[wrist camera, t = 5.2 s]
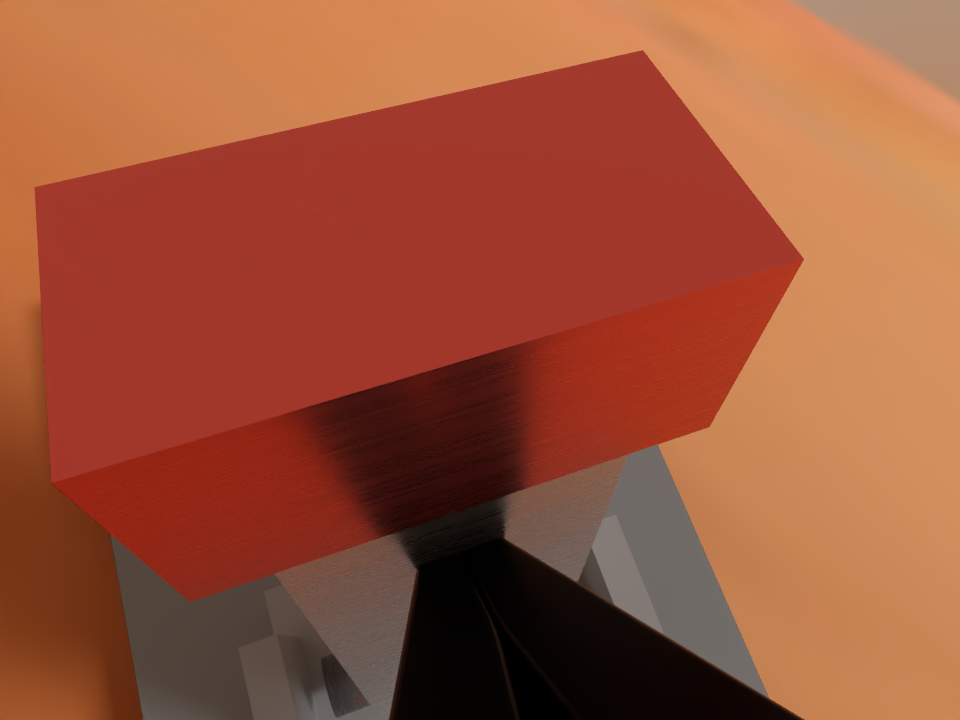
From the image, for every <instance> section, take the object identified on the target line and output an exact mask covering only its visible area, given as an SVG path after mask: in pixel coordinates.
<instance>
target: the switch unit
mask: <svg viewBox="0 0 960 720" xmlns="http://www.w3.org/2000/svg"><path fill="white" fill-rule="evenodd" d="M110 536H111V541H112V547H113V553H114V558H115V564H116V569H117V575H118V581H119V586H120V592H121V598H122V603H123V609H124V614H125V620H126V626H127V631H128V637H129V643H130V648H131V654H132V659H133V665H134V671H135V676H136V682H137V687H138V693H139V699H140V704H141V710H142V716H143V720H389V716H390V711H388V712H386V713H383V714H381V715H377V713H376V712H375V710H374V709H373V708H372V706H371V705H370V706H367V707H365V708H362V709H359V710H357V711H354V712H351V713H349V714H346V715H344V716H341V717H338V718H336V716H335V714H334V712H333V709H332V706H331V703H330V700H329V697H328V693H327V690H326V686H325V682H324V677H323V672H322V666H321V658H322V657H325V656H327V655H330V654H333V653H332V652H331V650H330V649H329V648H328V646H327V645H326V644H325V642H324V641H323V639H322V638H321V637H320V635H319V634H318V633H317V631H316V630H315V628H314V627H313V626H312V624H311V623H310V622H309V620H308V619H307V618H306V616H305V615H304V613H303V612H302V611H301V609H300V608H299V607H298V605H297V604H296V603H295V601H294V600H293V598H292V597H291V596H290V594H289V593H288V592H287V590H286V589H285V588H284V586H283V585H282V583H281V582H280V581H279V579H278V578H277V577H276V575H275V574H272V575H269V576H266V577H263V578H260V579H257V580H254V581H251V582H248V583H245V584H242V585H239V586H236V587H234V588H231V589H228V590H225V591H222V592H219V593H216V594H213V595H210V596H207V597H204V598H201V599H198V600H195V601H192V602H189V601H188V600H187V599H186V598H184V597H183V596H182V595H181V594H180V593H179V592H178V591H176V590H175V589H174V588H173V587H172V586H171V585H169V584H168V583H167V582H166V581H165V580H164V579H162V578H161V577H160V576H159V575H158V574H157V573H155V572H154V571H153V570H152V569H151V568H150V567H148V566H147V565H146V564H145V563H144V562H143V561H141V560H140V559H139V558H138V557H137V556H136V555H134V554H133V553H132V552H131V551H130V550H129V549H127V548H126V547H125V546H124V545H123V544H122V543H120V542H119V541H118V540H117V539H116V538H115V537H113V536H112V535H111V534H110ZM578 583H579V584H581V585H583V586H584V587H586V588H587V589H589V590H591V591H592V592H594V593H596V594H597V595H599V596H601V597H602V598H604V599H606V600H607V601H609V602H611V603H612V604H614V605H616V606H617V607H619V608H621V609H622V610H624V611H626V612H627V613H629V614H630V615H632V616H634V617H635V618H637V619H639V620H640V621H642V622H644V623H645V624H647V625H649V626H650V627H652V628H654V629H655V630H657V631H659V632H660V633H662V634H664V635H665V636H667V637H669V638H670V639H672V640H673V641H675V642H677V643H678V644H680V645H682V646H683V647H685V648H687V649H688V650H690V651H692V652H693V653H695V654H697V655H698V656H700V657H702V658H703V659H705V660H707V661H708V662H710V663H712V664H713V665H715V666H716V667H718V668H720V669H721V670H723V671H725V672H726V673H728V674H730V675H731V676H733V677H735V678H736V679H738V680H740V681H741V682H743V683H745V684H746V685H748V686H750V687H751V688H753V689H754V690H756V691H758V692H759V693H761V694H763V695H764V696H766V697H768V695H767V692H766V690H765V688H764V686H763V683H762V681H761V679H760V676H759V674H758V672H757V670H756V667H755V665H754V663H753V661H752V658H751V656H750V654H749V651H748V649H747V647H746V645H745V642H744V640H743V638H742V636H741V633H740V631H739V629H738V626H737V624H736V622H735V620H734V617H733V615H732V613H731V611H730V608H729V606H728V604H727V601H726V599H725V597H724V595H723V592H722V590H721V588H720V586H719V583H718V581H717V579H716V576H715V574H714V572H713V570H712V567H711V565H710V563H709V561H708V558H707V556H706V554H705V551H704V549H703V547H702V545H701V542H700V540H699V538H698V536H697V533H696V531H695V529H694V526H693V524H692V522H691V520H690V517H689V515H688V513H687V511H686V508H685V506H684V504H683V501H682V499H681V497H680V495H679V492H678V490H677V488H676V486H675V483H674V481H673V479H672V476H671V474H670V472H669V470H668V467H667V465H666V463H665V461H664V458H663V456H662V454H661V451H660V449H659V447H658V445H654V446H651V447H649V448H646V449H643V450H640V451H637V452H634V453H631V454H628V457H627V459H626V462H625V464H624V467H623V469H622V472H621V474H620V477H619V479H618V482H617V484H616V487H615V489H614V492H613V494H612V497H611V500H610V502H609V505H608V507H607V510H606V512H605V515H604V517H603V520H602V522H601V525H600V527H599V530H598V532H597V535H596V537H595V540H594V542H593V545H592V547H591V550H590V552H589V555H588V557H587V560H586V563H585V565H584V568H583V570H582V573H581V575H580V578H579V580H578ZM768 698H769V697H768Z"/></svg>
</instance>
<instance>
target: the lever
mask: <svg viewBox="0 0 960 720" xmlns="http://www.w3.org/2000/svg"><path fill="white" fill-rule="evenodd" d="M35 202H36V220H37V238H38V256H39V273H40V291H41V309H42V327H43V345H44V362H45V380H46V398H47V416H48V434H49V452H50V469H51V483H52V484H53V485H54V486H55V487H56V488H58V489H59V490H60V491H61V492H62V493H63V494H65V495H66V496H67V497H68V498H69V499H70V500H72V501H73V502H74V503H75V504H76V505H77V506H79V507H80V508H81V509H82V510H83V511H84V512H86V513H87V514H88V515H89V516H90V517H91V518H92V519H94V520H95V521H96V522H97V523H98V524H99V525H101V526H102V527H103V528H104V529H105V530H106V531H108V532H109V533H110V534H111V535H112V536H113V537H115V538H116V539H117V540H118V541H119V542H120V543H122V544H123V545H124V546H125V547H126V548H127V549H129V550H130V551H131V552H132V553H133V554H134V555H136V556H137V557H138V558H139V559H140V560H141V561H143V562H144V563H145V564H146V565H147V566H148V567H150V568H151V569H152V570H153V571H154V572H155V573H157V574H158V575H159V576H160V577H161V578H162V579H164V580H165V581H166V582H167V583H168V584H169V585H171V586H172V587H173V588H174V589H175V590H176V591H178V592H179V593H180V594H181V595H182V596H183V597H184V598H186V599H187V600H188V601H189V602H192V601H195V600H198V599H201V598H204V597H207V596H210V595H213V594H216V593H219V592H222V591H225V590H228V589H231V588H234V587H236V586H239V585H242V584H245V583H248V582H251V581H254V580H257V579H260V578H263V577H266V576H269V575H272V574H275V575H276V577H277V578H278V579H279V581H280V582H281V583H282V585H283V586H284V588H285V589H286V590H287V592H288V593H289V594H290V596H291V597H292V598H293V600H294V601H295V603H296V604H297V605H298V607H299V608H300V609H301V611H302V612H303V613H304V615H305V616H306V618H307V619H308V620H309V622H310V623H311V624H312V626H313V627H314V628H315V630H316V631H317V633H318V634H319V635H320V637H321V638H322V639H323V641H324V642H325V644H326V645H327V646H328V648H329V649H330V650H331V652H332V653H333V654H330V655H327V656H325V657H322V658H321V666H322V672H323V677H324V682H325V686H326V690H327V693H328V697H329V700H330V703H331V706H332V709H333V712H334V714H335V716H336V718H338V717H341V716H344V715H346V714H349V713H351V712H354V711H357V710H359V709H362V708H365V707H367V706H370V705H371V706H372V708H373V709H374V710H375V712H376V713H377V715H381V714H383V713H386V712H388V711H391V705H392V700H393V695H394V689H395V684H396V678H397V673H398V667H399V662H400V657H401V651H402V646H403V640H404V635H405V630H406V624H407V619H408V613H409V608H410V603H411V597H412V592H413V586H414V581H415V575H416V571H417V568H418V567H420V566H422V565H425V564H428V563H431V562H433V561H436V560H439V559H442V558H445V557H448V556H451V555H454V554H460V555H461V557H462V554H463V552H465V551H466V550H468V549H471V548H474V547H476V546H479V545H482V544H485V543H488V542H491V541H494V540H496V539H499V538H505V539H506V540H508V541H510V542H511V543H513V544H515V545H516V546H518V547H520V548H521V549H523V550H525V551H526V552H528V553H530V554H531V555H533V556H535V557H536V558H538V559H540V560H541V561H543V562H545V563H546V564H548V565H549V566H551V567H553V568H554V569H556V570H558V571H559V572H561V573H563V574H564V575H566V576H568V577H569V578H571V579H573V580H574V581H576V582H578V580H579V578H580V575H581V573H582V570H583V568H584V565H585V563H586V560H587V557H588V555H589V552H590V550H591V547H592V545H593V542H594V540H595V537H596V535H597V532H598V530H599V527H600V525H601V522H602V520H603V517H604V515H605V512H606V510H607V507H608V505H609V502H610V500H611V497H612V494H613V492H614V489H615V487H616V484H617V482H618V479H619V477H620V474H621V472H622V469H623V467H624V464H625V462H626V459H627V457H628V454H631V453H634V452H637V451H640V450H643V449H646V448H649V447H651V446H654V445H657V444H660V443H663V442H666V441H669V440H672V439H675V438H678V437H681V436H684V435H687V434H690V433H693V432H696V431H699V430H702V429H705V428H708V427H710V425H711V423H712V421H713V420H714V418H715V416H716V414H717V412H718V411H719V409H720V407H721V405H722V404H723V402H724V400H725V398H726V397H727V395H728V393H729V391H730V389H731V388H732V386H733V384H734V382H735V381H736V379H737V377H738V375H739V373H740V372H741V370H742V368H743V366H744V365H745V363H746V361H747V359H748V358H749V356H750V354H751V352H752V350H753V349H754V347H755V345H756V343H757V342H758V340H759V338H760V336H761V334H762V333H763V331H764V329H765V327H766V326H767V324H768V322H769V320H770V319H771V317H772V315H773V313H774V311H775V310H776V308H777V306H778V304H779V303H780V301H781V299H782V297H783V295H784V294H785V292H786V290H787V288H788V287H789V285H790V283H791V281H792V280H793V278H794V276H795V274H796V272H797V271H798V269H799V267H800V265H801V264H802V262H803V260H804V259H803V257H802V256H801V255H800V253H799V252H798V251H797V250H796V248H795V247H794V246H793V244H792V243H791V242H790V241H789V239H788V238H787V237H786V235H785V234H784V233H783V231H782V230H781V229H780V228H779V226H778V225H777V224H776V222H775V221H774V220H773V218H772V217H771V216H770V215H769V213H768V212H767V211H766V209H765V208H764V207H763V206H762V204H761V203H760V202H759V200H758V199H757V198H756V196H755V195H754V194H753V193H752V191H751V190H750V189H749V187H748V186H747V185H746V183H745V182H744V181H743V180H742V178H741V177H740V176H739V174H738V173H737V172H736V170H735V169H734V168H733V167H732V165H731V164H730V163H729V161H728V160H727V159H726V158H725V156H724V155H723V154H722V152H721V151H720V150H719V148H718V147H717V146H716V145H715V143H714V142H713V141H712V139H711V138H710V137H709V135H708V134H707V133H706V132H705V130H704V129H703V128H702V126H701V125H700V124H699V123H698V121H697V120H696V119H695V117H694V116H693V115H692V113H691V112H690V111H689V110H688V108H687V107H686V106H685V104H684V103H683V102H682V100H681V99H680V98H679V97H678V95H677V94H676V93H675V91H674V90H673V89H672V87H671V86H670V85H669V84H668V82H667V81H666V80H665V78H664V77H663V76H662V75H661V73H660V72H659V71H658V69H657V68H656V67H655V65H654V64H653V63H652V62H651V60H650V59H649V58H648V56H647V55H646V54H645V52H644V51H643V50H642V51H638V52H633V53H629V54H624V55H620V56H615V57H611V58H607V59H602V60H598V61H593V62H589V63H584V64H580V65H576V66H571V67H567V68H562V69H558V70H553V71H549V72H544V73H540V74H536V75H531V76H527V77H522V78H518V79H513V80H509V81H505V82H500V83H496V84H491V85H487V86H482V87H478V88H473V89H469V90H465V91H460V92H456V93H451V94H447V95H442V96H438V97H434V98H429V99H425V100H420V101H416V102H411V103H407V104H402V105H398V106H394V107H389V108H385V109H380V110H376V111H371V112H367V113H362V114H358V115H354V116H349V117H345V118H340V119H336V120H331V121H327V122H323V123H318V124H314V125H309V126H305V127H300V128H296V129H291V130H287V131H283V132H278V133H274V134H269V135H265V136H260V137H256V138H252V139H247V140H243V141H238V142H234V143H229V144H225V145H220V146H216V147H212V148H207V149H203V150H198V151H194V152H189V153H185V154H181V155H176V156H172V157H167V158H163V159H158V160H154V161H149V162H145V163H141V164H136V165H132V166H127V167H123V168H118V169H114V170H110V171H105V172H101V173H96V174H92V175H87V176H83V177H78V178H74V179H70V180H65V181H61V182H56V183H52V184H47V185H43V186H39V187H35Z"/></svg>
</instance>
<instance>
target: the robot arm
mask: <svg viewBox="0 0 960 720" xmlns="http://www.w3.org/2000/svg"><path fill="white" fill-rule="evenodd" d="M389 720H804V719H802V718H801V717H799V716H797V715H796V714H794V713H793V712H791V711H789V710H788V709H786V708H784V707H783V706H781V705H779V704H778V703H776V702H774V701H773V700H771V699H769V698H768V697H766V696H764V695H763V694H761V693H759V692H758V691H756V690H754V689H753V688H751V687H750V686H748V685H746V684H745V683H743V682H741V681H740V680H738V679H736V678H735V677H733V676H731V675H730V674H728V673H726V672H725V671H723V670H721V669H720V668H718V667H716V666H715V665H713V664H712V663H710V662H708V661H707V660H705V659H703V658H702V657H700V656H698V655H697V654H695V653H693V652H692V651H690V650H688V649H687V648H685V647H683V646H682V645H680V644H678V643H677V642H675V641H673V640H672V639H670V638H669V637H667V636H665V635H664V634H662V633H660V632H659V631H657V630H655V629H654V628H652V627H650V626H649V625H647V624H645V623H644V622H642V621H640V620H639V619H637V618H635V617H634V616H632V615H630V614H629V613H627V612H626V611H624V610H622V609H621V608H619V607H617V606H616V605H614V604H612V603H611V602H609V601H607V600H606V599H604V598H602V597H601V596H599V595H597V594H596V593H594V592H592V591H591V590H589V589H587V588H586V587H584V586H583V585H581V584H579V583H578V582H576V581H574V580H573V579H571V578H569V577H568V576H566V575H564V574H563V573H561V572H559V571H558V570H556V569H554V568H553V567H551V566H549V565H548V564H546V563H545V562H543V561H541V560H540V559H538V558H536V557H535V556H533V555H531V554H530V553H528V552H526V551H525V550H523V549H521V548H520V547H518V546H516V545H515V544H513V543H511V542H510V541H508V540H506V539H505V538H499V539H496V540H494V541H491V542H488V543H485V544H482V545H479V546H476V547H474V548H471V549H468V550H466V551H465V552H463V554H462V557H461V555H460V554H454V555H451V556H448V557H445V558H442V559H439V560H436V561H433V562H431V563H428V564H425V565H422V566H420V567H418V568H417V571H416V575H415V581H414V586H413V592H412V597H411V603H410V608H409V613H408V619H407V624H406V630H405V635H404V640H403V646H402V651H401V657H400V662H399V667H398V673H397V678H396V684H395V689H394V695H393V700H392V705H391V711H390V716H389Z"/></svg>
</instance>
